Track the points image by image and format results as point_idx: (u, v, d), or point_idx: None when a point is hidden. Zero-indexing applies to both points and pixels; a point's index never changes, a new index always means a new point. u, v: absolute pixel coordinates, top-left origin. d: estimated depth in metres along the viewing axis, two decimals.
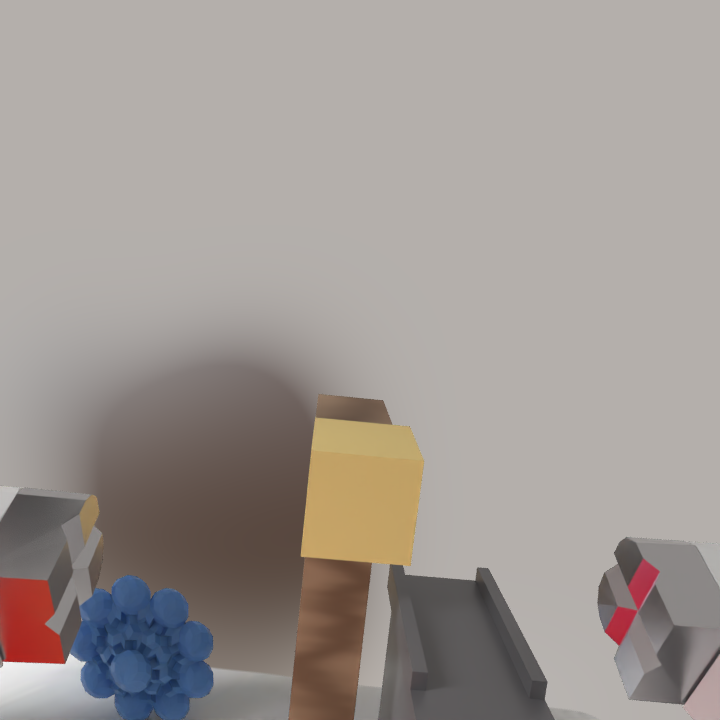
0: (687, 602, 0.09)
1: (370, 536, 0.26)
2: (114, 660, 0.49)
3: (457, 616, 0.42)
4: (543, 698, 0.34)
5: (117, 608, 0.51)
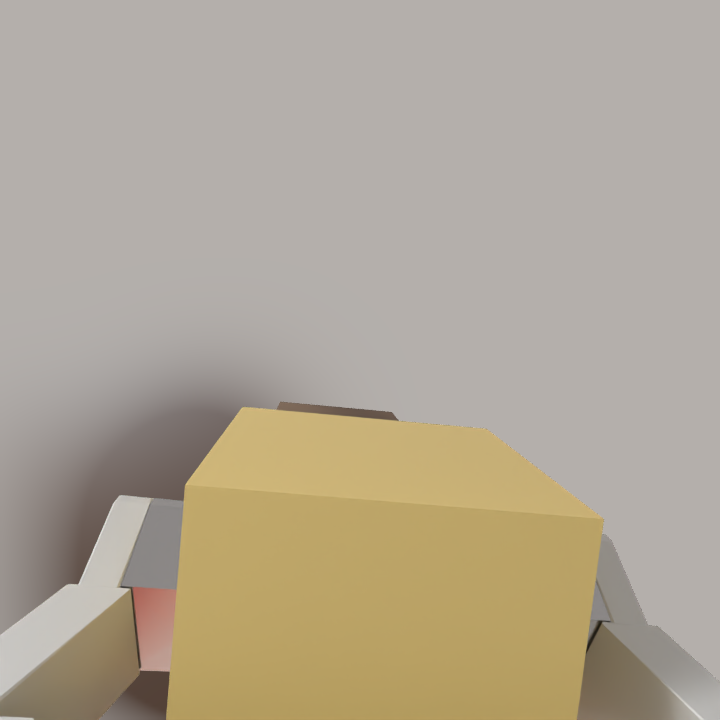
0: None
1: None
2: None
3: None
4: None
5: None
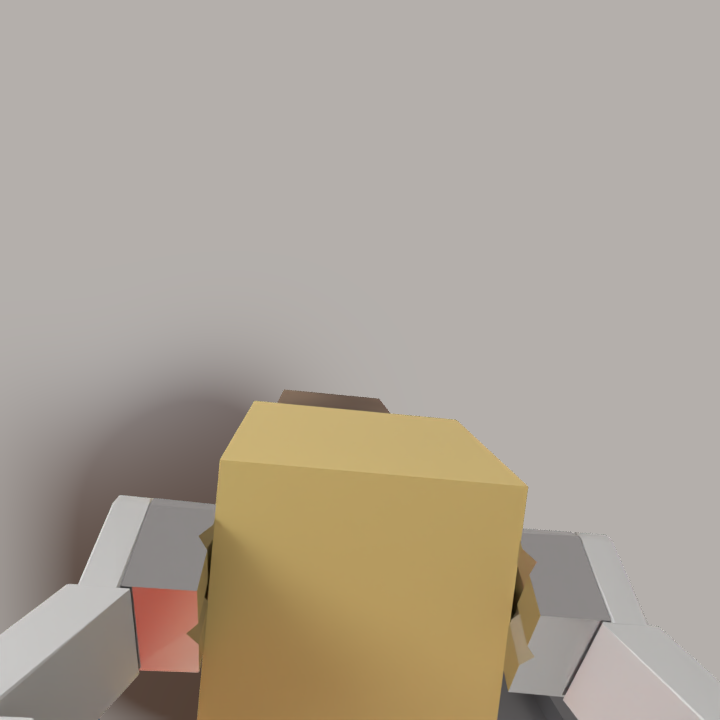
0: (559, 593, 0.09)
1: (383, 696, 0.10)
2: None
3: None
4: None
5: None
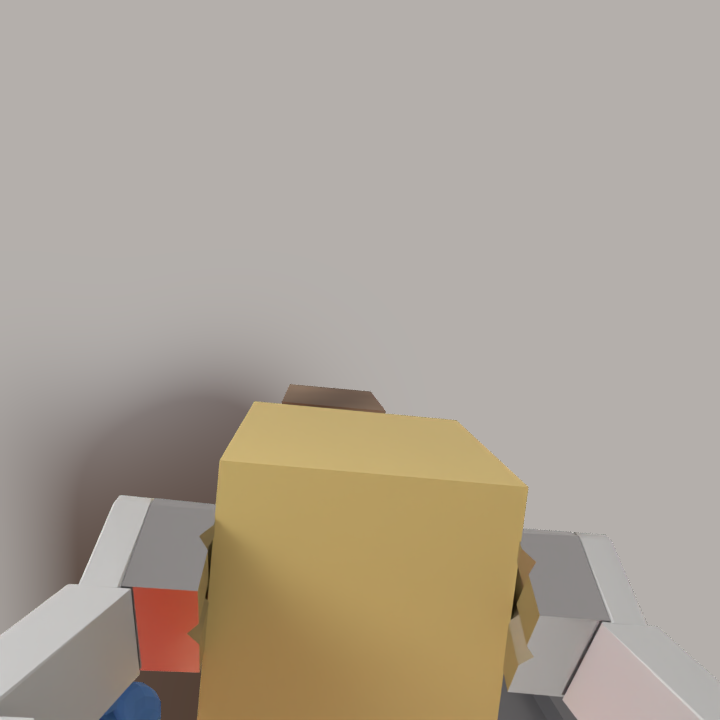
0: (558, 593, 0.09)
1: (383, 697, 0.10)
2: None
3: None
4: None
5: None
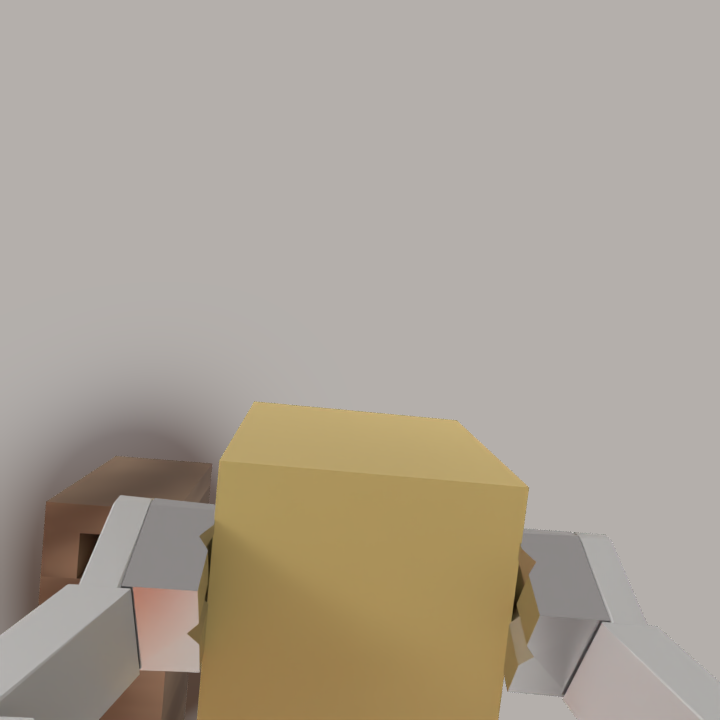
0: (558, 592, 0.09)
1: (383, 698, 0.10)
2: None
3: None
4: None
5: None
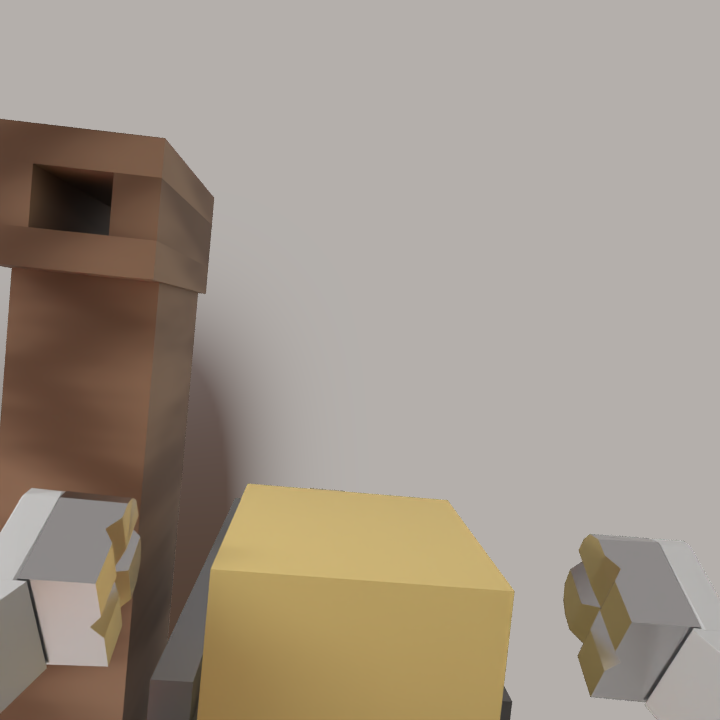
0: (646, 599, 0.09)
1: None
2: None
3: None
4: None
5: None
